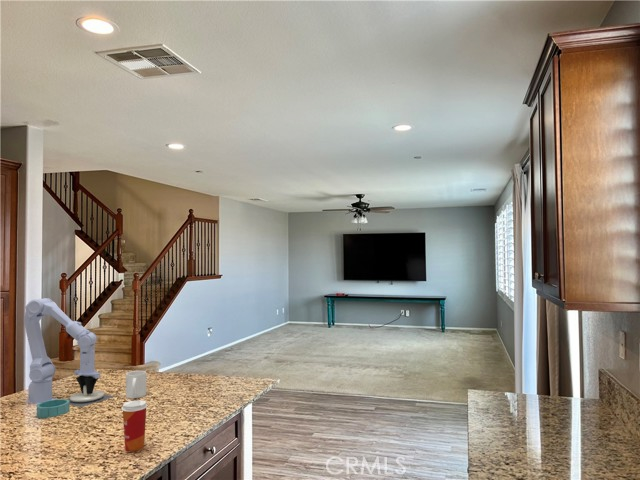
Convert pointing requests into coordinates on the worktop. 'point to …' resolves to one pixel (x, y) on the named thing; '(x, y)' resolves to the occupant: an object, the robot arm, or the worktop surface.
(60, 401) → the bowl
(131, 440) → the paper cup
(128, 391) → the mug
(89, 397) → the lid
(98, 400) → the mat
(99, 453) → the worktop surface
